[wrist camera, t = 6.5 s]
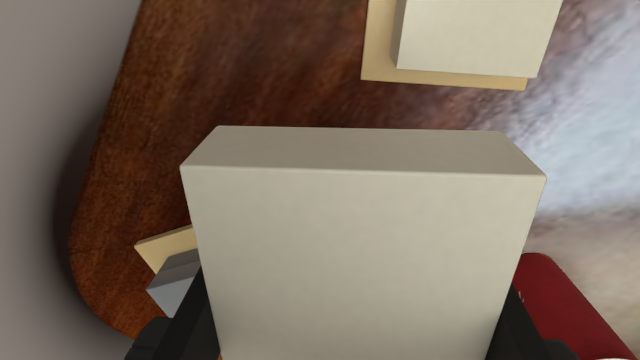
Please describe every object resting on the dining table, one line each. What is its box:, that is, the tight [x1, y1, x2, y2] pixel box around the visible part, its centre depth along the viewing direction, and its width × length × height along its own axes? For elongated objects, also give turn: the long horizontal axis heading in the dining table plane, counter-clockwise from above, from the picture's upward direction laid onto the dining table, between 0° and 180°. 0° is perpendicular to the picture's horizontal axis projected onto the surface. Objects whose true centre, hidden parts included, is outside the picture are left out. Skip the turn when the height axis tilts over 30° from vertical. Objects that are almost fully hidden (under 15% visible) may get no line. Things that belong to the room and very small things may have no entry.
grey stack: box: [134, 224, 221, 354], centre depth 39 cm, size 16×13×6 cm
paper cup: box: [512, 253, 638, 360], centre depth 32 cm, size 8×8×14 cm
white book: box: [180, 126, 547, 360], centre depth 13 cm, size 12×9×3 cm
